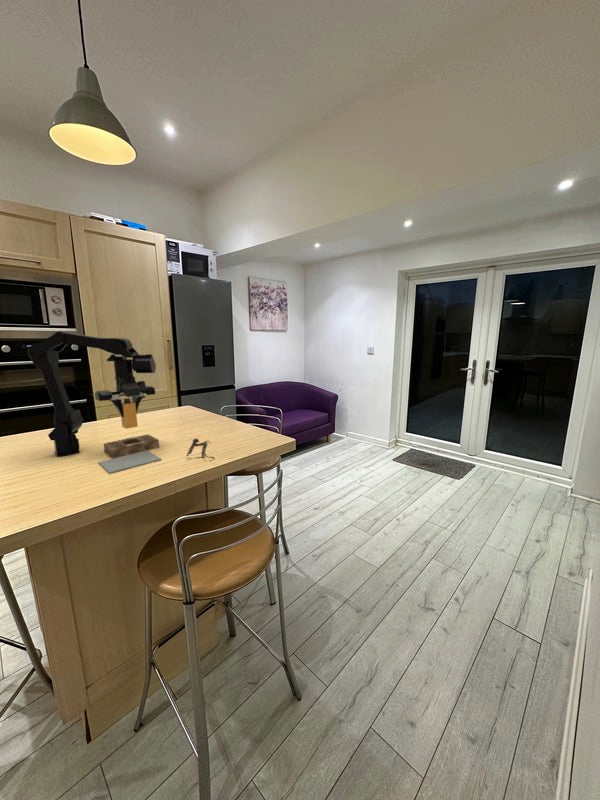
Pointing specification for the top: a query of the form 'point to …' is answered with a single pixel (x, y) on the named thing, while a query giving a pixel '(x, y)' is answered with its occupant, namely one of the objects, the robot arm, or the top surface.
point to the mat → (128, 461)
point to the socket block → (130, 445)
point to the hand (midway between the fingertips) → (128, 416)
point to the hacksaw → (202, 449)
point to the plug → (129, 414)
